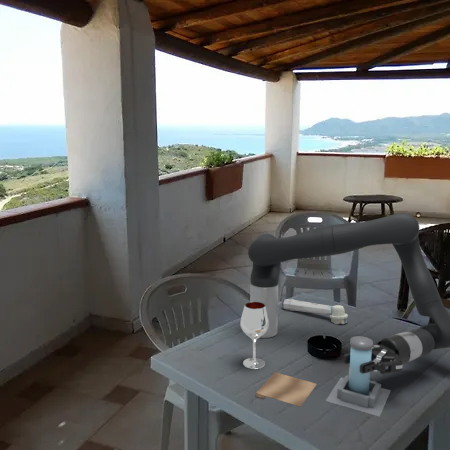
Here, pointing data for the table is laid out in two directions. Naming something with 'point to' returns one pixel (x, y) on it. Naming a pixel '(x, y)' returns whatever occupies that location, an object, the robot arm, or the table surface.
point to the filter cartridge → (358, 356)
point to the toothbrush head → (317, 309)
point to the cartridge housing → (359, 397)
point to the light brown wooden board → (286, 389)
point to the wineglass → (254, 329)
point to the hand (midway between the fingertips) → (352, 364)
